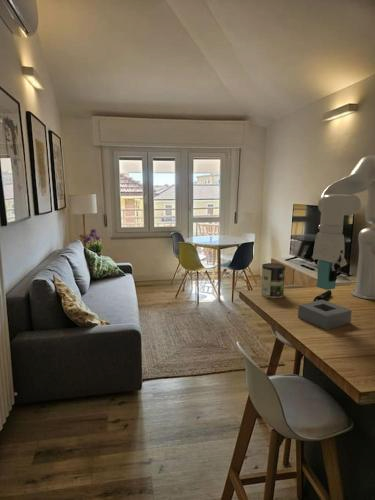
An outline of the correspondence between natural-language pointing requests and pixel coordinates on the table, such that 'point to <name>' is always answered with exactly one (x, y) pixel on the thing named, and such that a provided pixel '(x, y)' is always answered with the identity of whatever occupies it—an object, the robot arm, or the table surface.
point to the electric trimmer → (323, 296)
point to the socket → (324, 314)
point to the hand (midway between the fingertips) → (326, 278)
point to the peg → (324, 276)
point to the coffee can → (273, 280)
